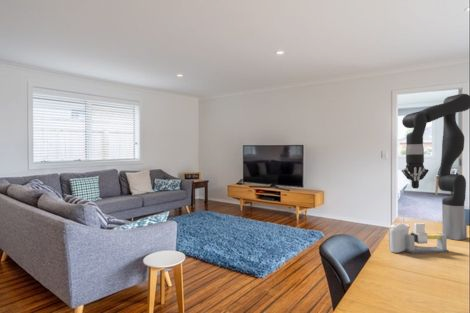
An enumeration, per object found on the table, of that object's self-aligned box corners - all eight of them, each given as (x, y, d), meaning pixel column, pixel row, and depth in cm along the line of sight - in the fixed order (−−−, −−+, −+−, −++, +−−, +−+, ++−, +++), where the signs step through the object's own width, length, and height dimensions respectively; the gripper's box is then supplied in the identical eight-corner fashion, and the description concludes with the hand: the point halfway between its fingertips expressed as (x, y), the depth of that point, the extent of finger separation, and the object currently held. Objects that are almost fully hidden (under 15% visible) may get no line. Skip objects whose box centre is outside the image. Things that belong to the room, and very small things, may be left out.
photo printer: (399, 247, 135) (398, 221, 136) (409, 249, 132) (408, 222, 132) (388, 251, 130) (386, 224, 130) (397, 254, 126) (396, 225, 126)
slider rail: (439, 248, 132) (439, 231, 132) (448, 252, 127) (448, 234, 127) (404, 250, 131) (404, 232, 131) (411, 253, 126) (411, 235, 126)
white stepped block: (420, 240, 132) (420, 222, 131) (427, 243, 127) (427, 224, 127) (412, 240, 131) (411, 222, 131) (418, 243, 127) (418, 224, 127)
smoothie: (404, 247, 135) (404, 218, 135) (391, 244, 140) (391, 215, 140) (412, 245, 138) (412, 216, 138) (400, 241, 143) (399, 214, 143)
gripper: (422, 153, 146) (422, 187, 147) (397, 153, 146) (397, 187, 146) (433, 153, 139) (433, 188, 139) (406, 153, 138) (407, 189, 138)
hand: (415, 188), depth 142 cm, fingers closed
